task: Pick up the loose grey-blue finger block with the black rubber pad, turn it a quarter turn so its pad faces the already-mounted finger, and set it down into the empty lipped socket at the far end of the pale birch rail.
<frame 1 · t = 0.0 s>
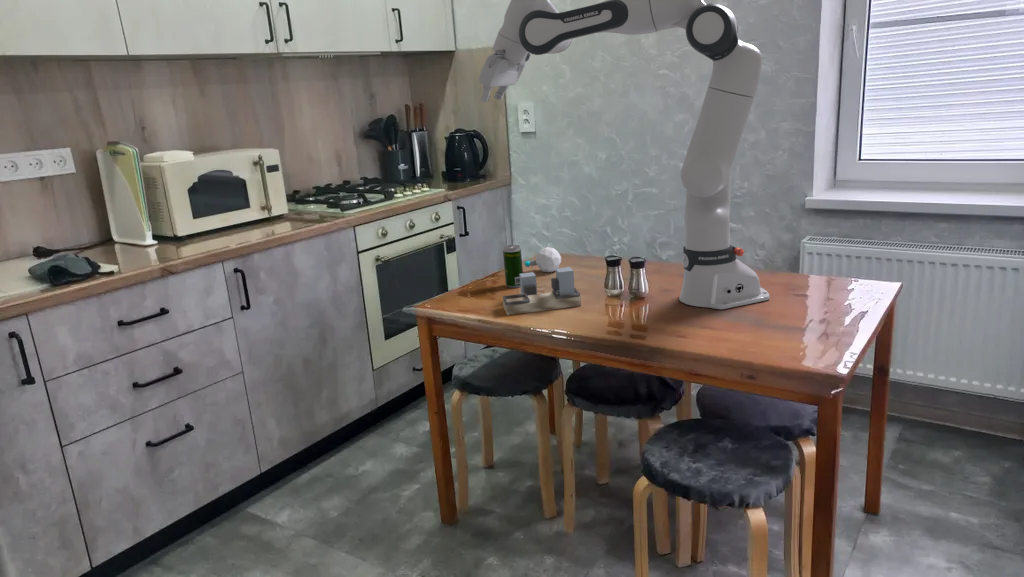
hand: (490, 100, 188), 54 cm above the table, tool tilted 30°, fingers open, 8 cm apart
mounted finger: (566, 294, 189), resting on rail
beer can: (515, 286, 211), on the table
rail: (541, 306, 189), on the table
perfume bottle: (543, 272, 223), on the table
finger block: (529, 298, 197), on the table
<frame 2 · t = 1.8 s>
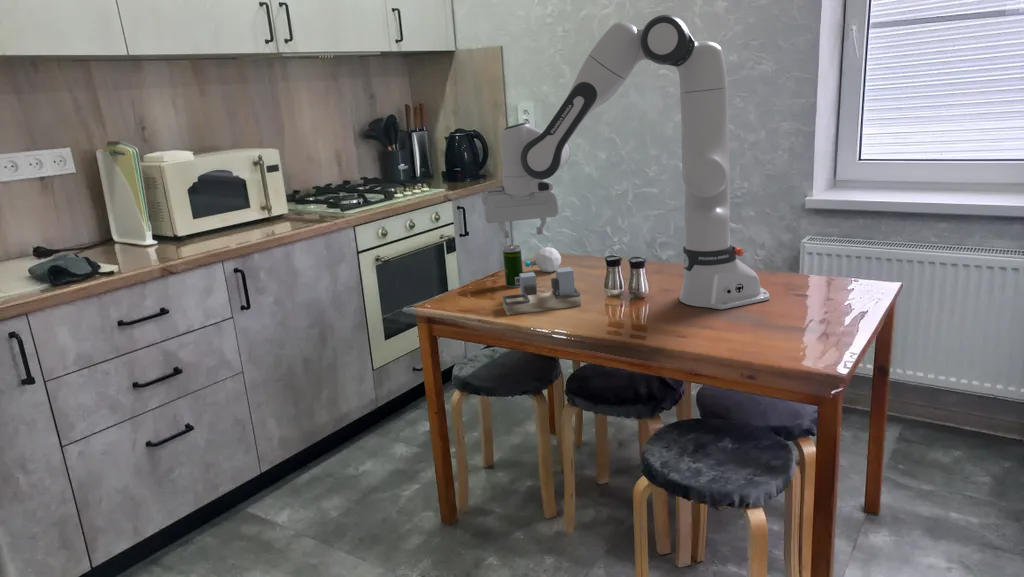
hand: (522, 235, 192), 18 cm above the table, tool pointing down, fingers open, 8 cm apart
nothing on the table moved.
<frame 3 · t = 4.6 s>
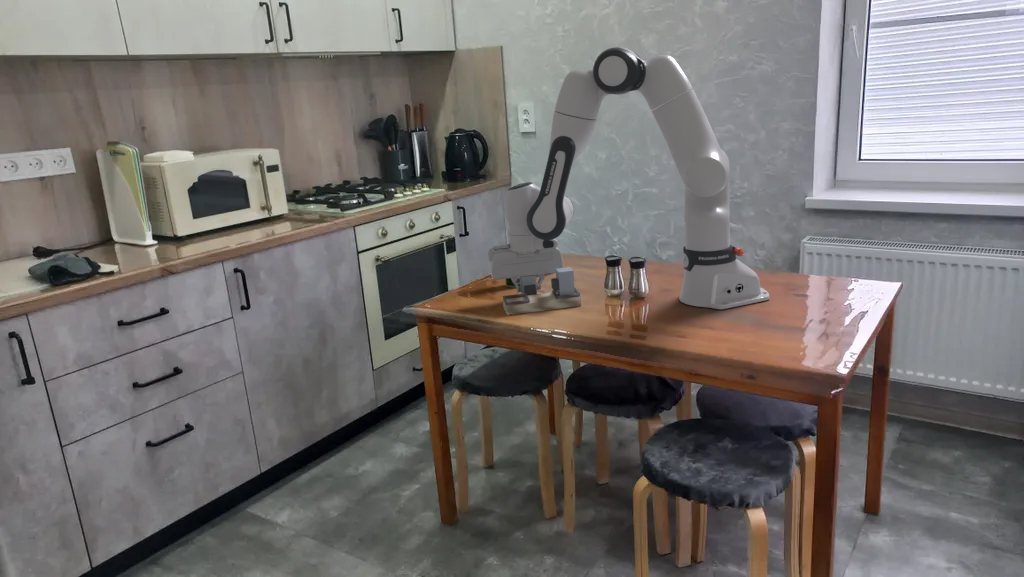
hand: (528, 290, 196), 2 cm above the table, tool pointing down, fingers closed on finger block, 4 cm apart
finger block: (529, 298, 197), on the table, touching gripper
everything else where it was.
when the fingers open (5 cm above the table, at t = 9.5 s): finger block stays where it is, resting on rail.
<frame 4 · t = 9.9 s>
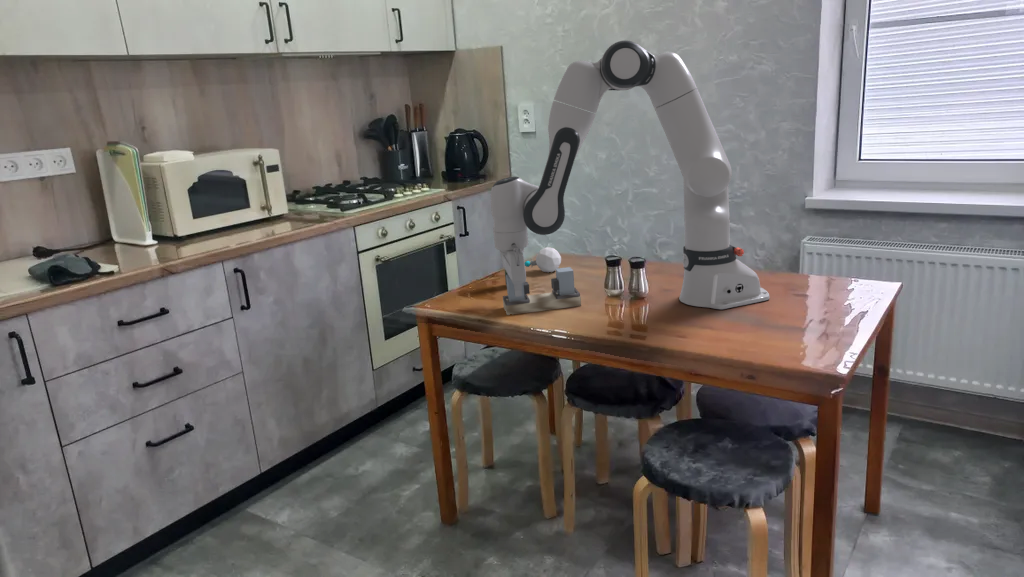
hand: (515, 290, 187), 5 cm above the table, tool pointing down, fingers open, 8 cm apart
finger block: (516, 300, 188), point 2 cm above the table, touching rail
everything else where it was.
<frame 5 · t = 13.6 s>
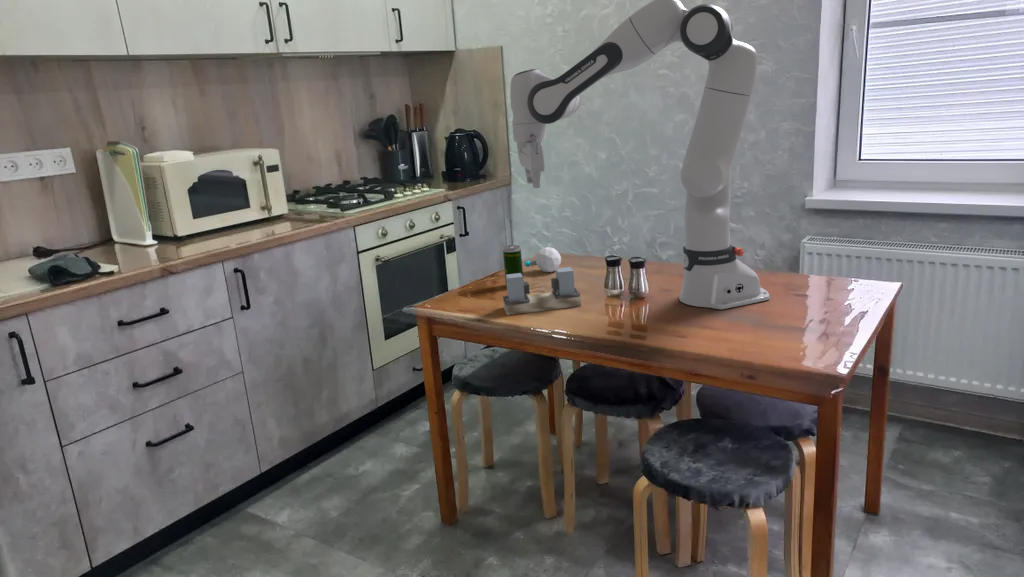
hand: (533, 185, 191), 31 cm above the table, tool pointing down, fingers open, 8 cm apart
nothing on the table moved.
at the end: finger block 0.0 cm from the target spot on the rail, point 2.5 cm above the rail's base; finger block tilted 0°; the gripper is holding nothing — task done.
